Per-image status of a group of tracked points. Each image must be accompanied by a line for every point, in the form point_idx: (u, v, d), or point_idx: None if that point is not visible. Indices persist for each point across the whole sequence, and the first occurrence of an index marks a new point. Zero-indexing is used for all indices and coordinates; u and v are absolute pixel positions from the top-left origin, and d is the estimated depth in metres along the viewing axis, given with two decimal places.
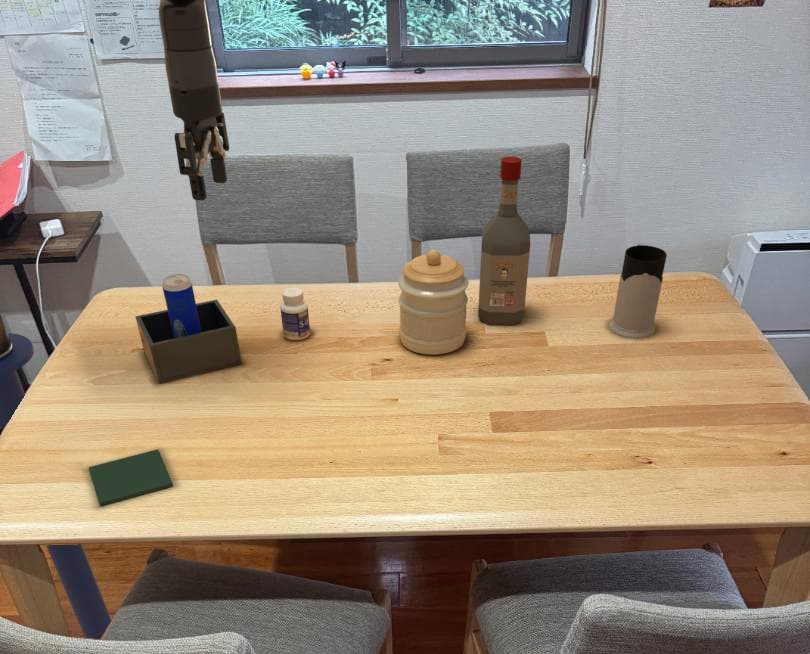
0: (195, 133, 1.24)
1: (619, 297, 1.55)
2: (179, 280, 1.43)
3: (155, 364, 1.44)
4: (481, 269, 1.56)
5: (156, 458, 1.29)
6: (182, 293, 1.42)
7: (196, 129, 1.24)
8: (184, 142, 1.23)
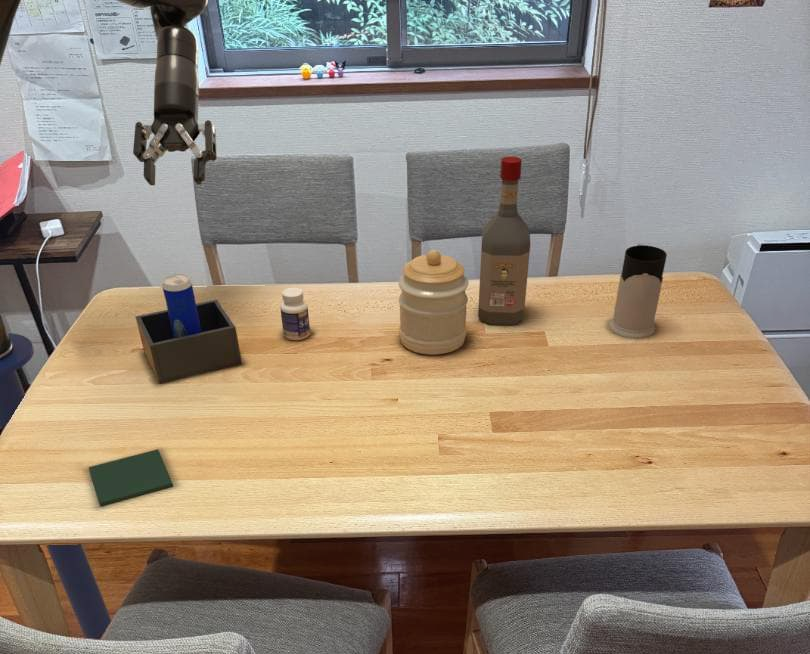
0: None
1: (619, 297, 1.55)
2: (179, 280, 1.43)
3: (155, 364, 1.44)
4: (481, 269, 1.56)
5: (156, 458, 1.29)
6: (182, 293, 1.42)
7: None
8: (214, 130, 1.42)
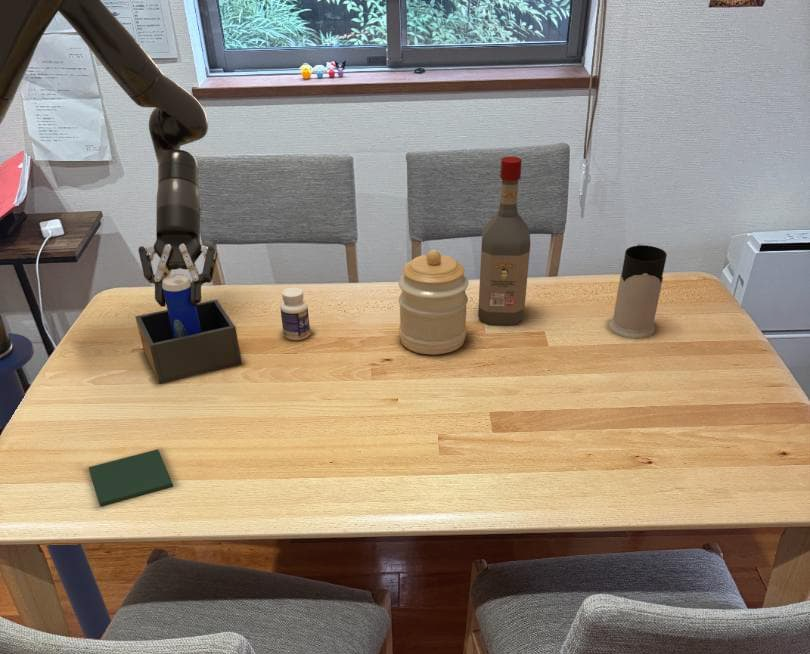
0: None
1: (619, 297, 1.55)
2: (179, 280, 1.43)
3: (155, 364, 1.44)
4: (481, 269, 1.56)
5: (156, 458, 1.29)
6: (181, 293, 1.42)
7: None
8: (215, 255, 1.45)
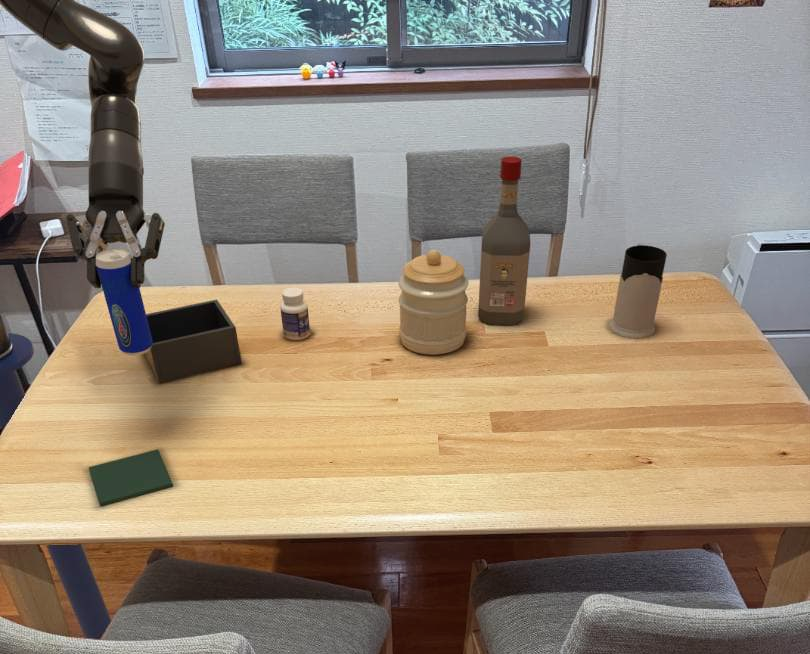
0: None
1: (619, 297, 1.55)
2: (116, 255, 1.17)
3: (155, 364, 1.44)
4: (481, 269, 1.56)
5: (156, 458, 1.29)
6: (119, 271, 1.16)
7: None
8: (162, 225, 1.18)
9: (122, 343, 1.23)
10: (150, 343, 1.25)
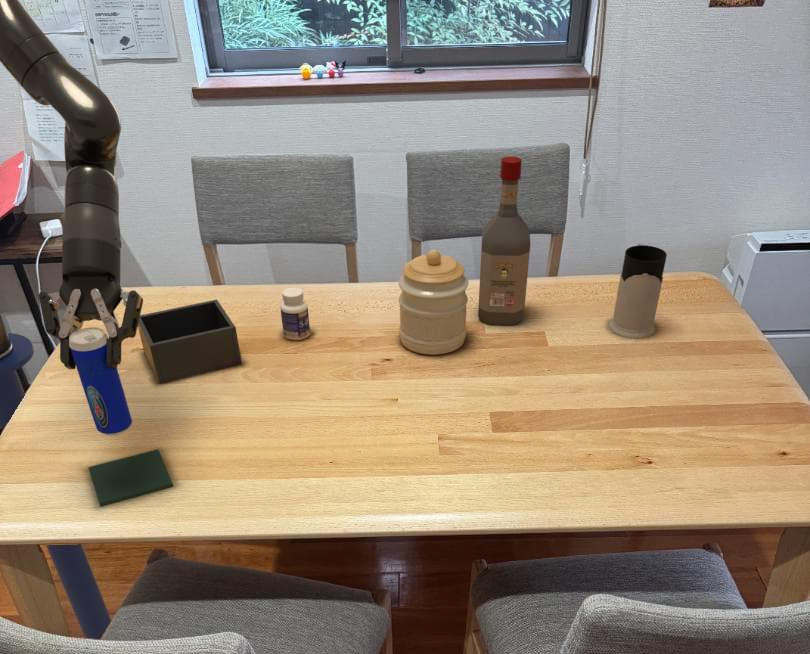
0: None
1: (619, 297, 1.55)
2: (91, 336, 1.10)
3: (155, 364, 1.44)
4: (481, 269, 1.56)
5: (156, 458, 1.29)
6: (94, 353, 1.09)
7: None
8: (140, 303, 1.12)
9: (99, 424, 1.17)
10: (129, 422, 1.19)
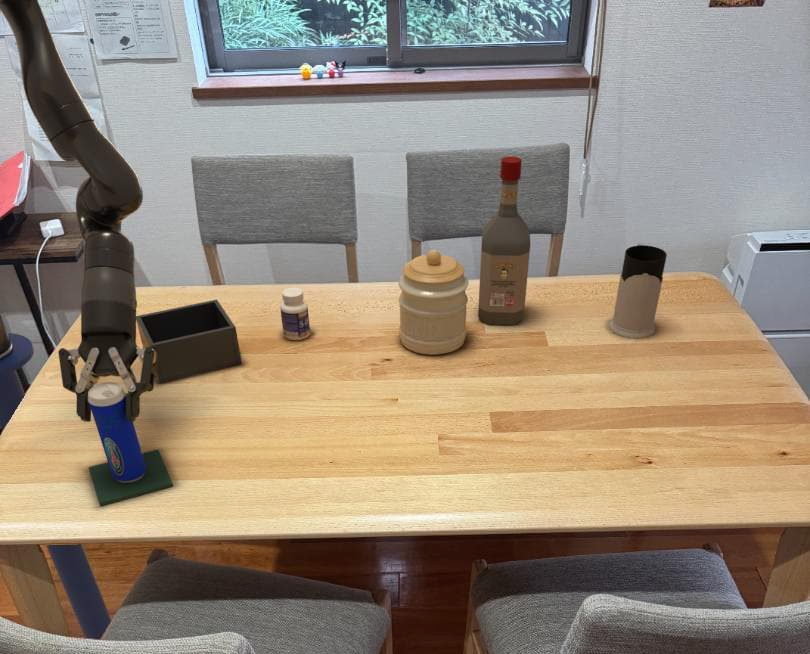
0: None
1: (619, 297, 1.55)
2: (109, 391, 1.16)
3: None
4: (481, 269, 1.56)
5: (156, 458, 1.29)
6: (111, 408, 1.15)
7: None
8: (155, 358, 1.17)
9: (115, 472, 1.22)
10: (143, 470, 1.24)
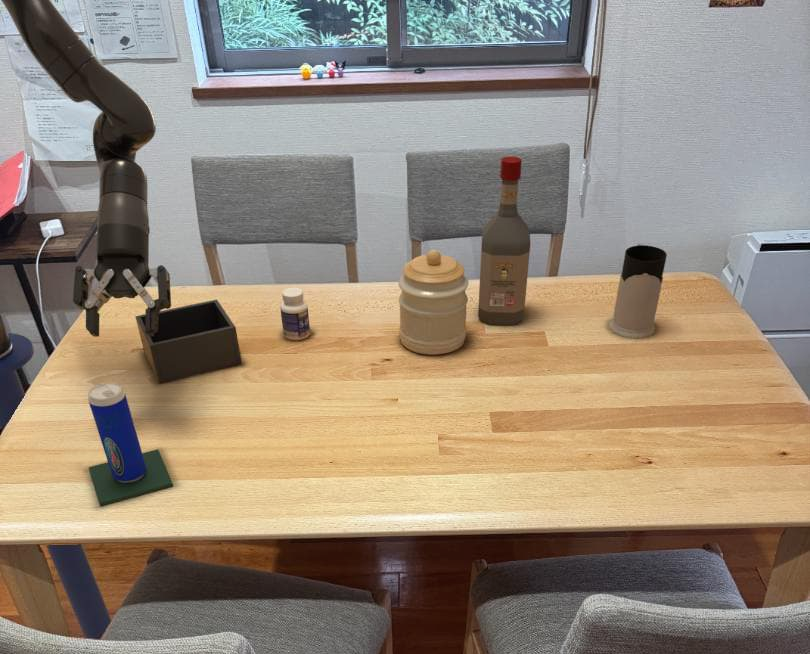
0: None
1: (619, 297, 1.55)
2: (109, 391, 1.16)
3: (155, 364, 1.44)
4: (481, 269, 1.56)
5: (156, 458, 1.29)
6: (112, 408, 1.15)
7: None
8: (167, 276, 1.24)
9: (115, 472, 1.22)
10: (143, 470, 1.24)
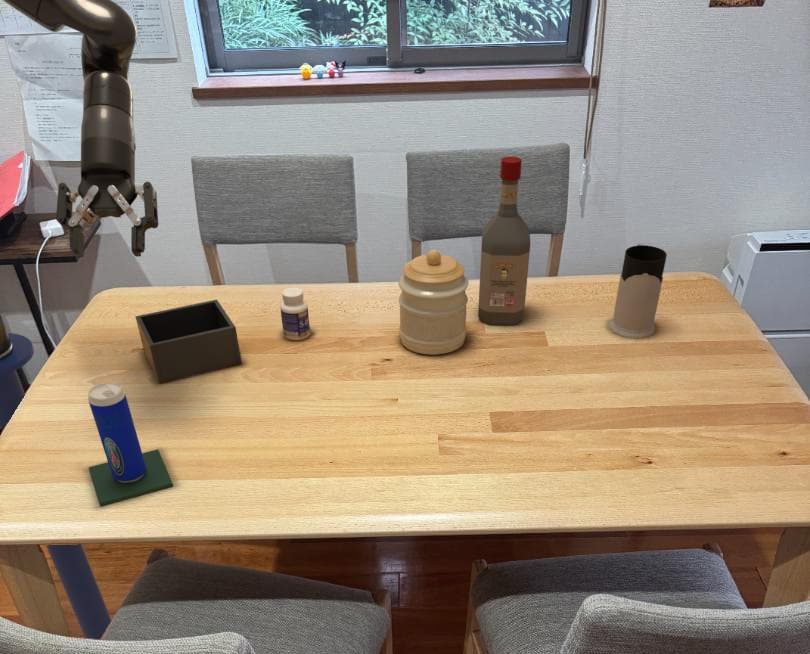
0: None
1: (619, 297, 1.55)
2: (109, 391, 1.16)
3: (155, 364, 1.44)
4: (481, 269, 1.56)
5: (156, 458, 1.29)
6: (112, 408, 1.15)
7: None
8: (154, 193, 1.20)
9: (115, 472, 1.22)
10: (143, 470, 1.24)
